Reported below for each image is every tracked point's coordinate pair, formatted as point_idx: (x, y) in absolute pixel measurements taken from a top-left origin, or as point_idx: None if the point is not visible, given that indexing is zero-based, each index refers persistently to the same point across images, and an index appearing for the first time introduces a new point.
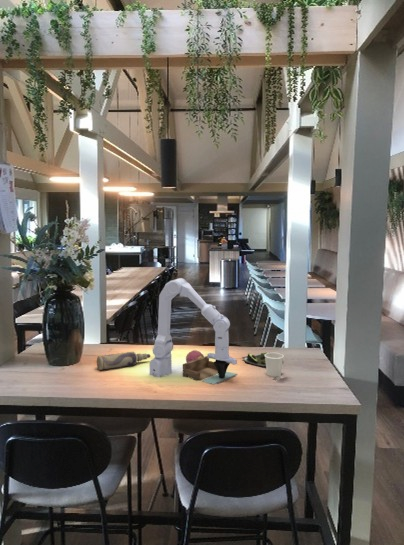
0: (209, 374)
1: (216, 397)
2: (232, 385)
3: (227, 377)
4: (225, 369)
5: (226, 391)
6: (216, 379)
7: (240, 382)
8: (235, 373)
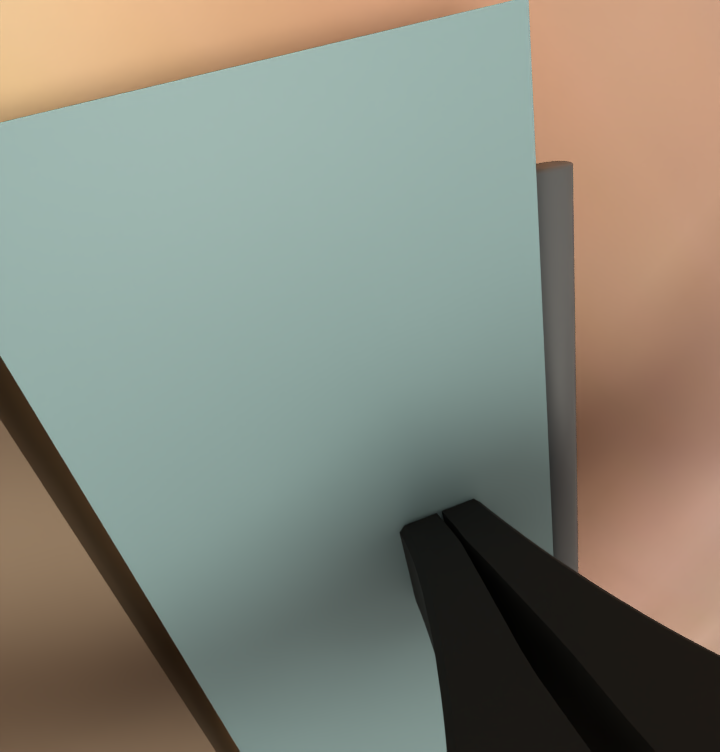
0: (20, 685)
1: None
2: (648, 406)
3: (530, 451)
4: (637, 662)
5: (702, 571)
6: None
7: (682, 176)
8: (452, 22)
